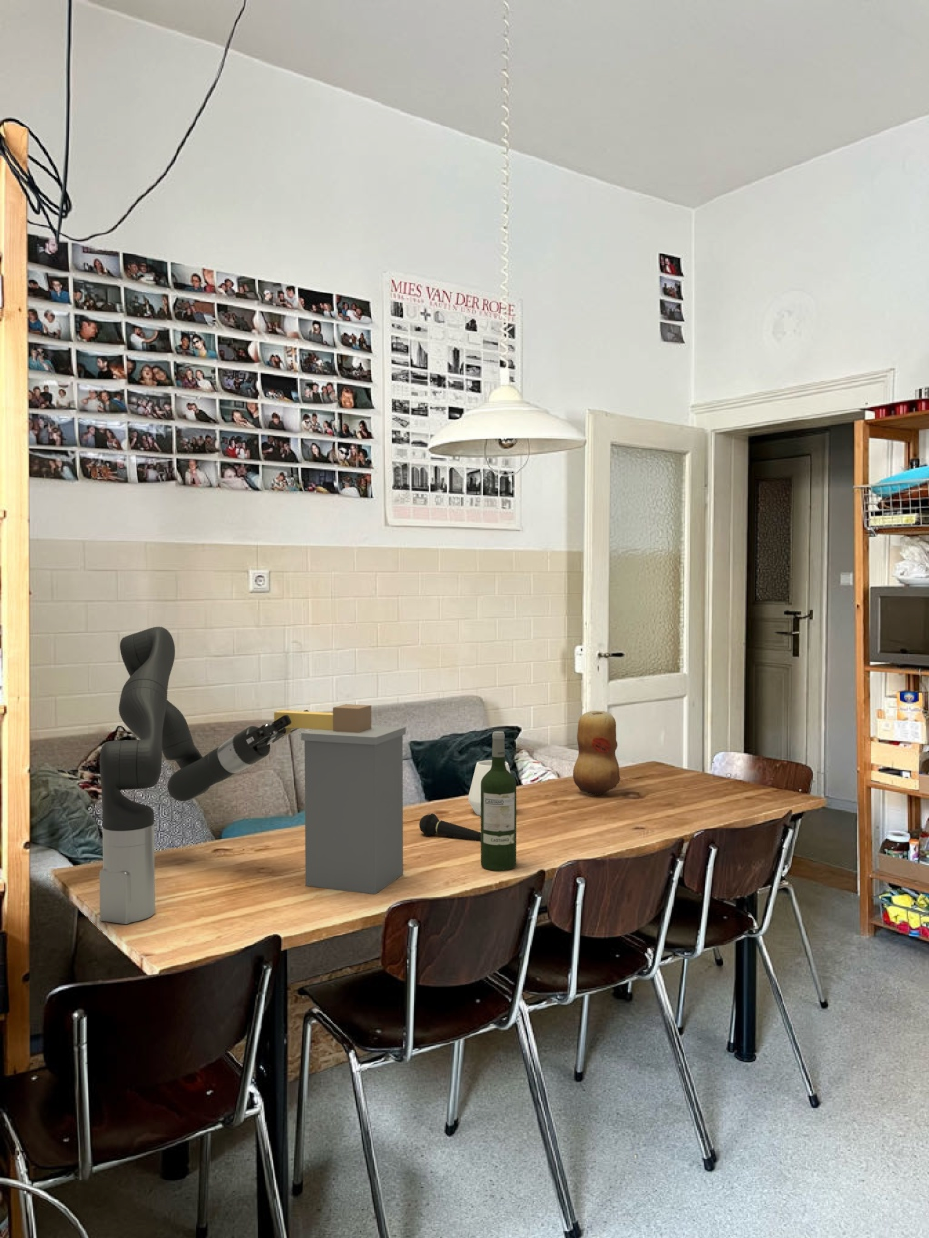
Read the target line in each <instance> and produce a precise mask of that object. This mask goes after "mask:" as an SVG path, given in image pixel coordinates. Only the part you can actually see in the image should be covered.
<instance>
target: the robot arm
mask: <svg viewBox="0 0 929 1238" xmlns="http://www.w3.org/2000/svg"><path fill="white" fill-rule="evenodd" d="M119 651H120V656H121V659H122V662H123V664H124V667H125V669H126V671H127V673H128V676H129V678H128V679H127V680H126V681H125V683H124V685H123V686H122V689H121V692H120V699H119V705H118V712H119V713H118V714H119V717H120V718H121V721H122V722H123V723H124V724H125V726H126V727H127V728H128V729H129V730H130V731H131V732H132V733H133V734H134V735H135V736H136V737H138V739H130V740H128V739H127V740H110V741H106V742H104V743H103V745H102V746H101V747H102V748H101V749H100V754H99V775H100V787H101V788H100V789H101V807H102V808H101V809H102V811H101V813H102V817H101V818H102V820H101V821H102V825H101V826H102V869H99V874H98V875H99V877H98V878H99V916H100V917H99V920H100V921H102V922H107V923H115V924H121V925H122V924H123V925H128V924H130V923H134V922H139V921H143V920H146V919H149V918H150V917H153V915H155V913H156V882H155V881H156V880H155V879H156V878H155V877H156V876H155V875H156V874H155V872H156V871H155V812H154V809H153V808H152V807H151V806H149V805H146V804H143V803H139V802H136V801H134V800H131V799H129V798H128V797H126V796H125V795H124V794H123V793H122V791H125V790H126V791H127V790H142V789H145V790H146V789H150V788H153V787H155V786H156V785H157V784H158V783H159V780H160V778H161V772H162V764H163V757H164V758H165V759H166V760H167V761H175V762H176V763H177V765H178V767H179V769H178V770H177V771H175V772H173V774H172V775H170V777H169V779H168V782H167V791H168V794H169V796H170V797H171V799H174V800H175V801H179V802H187V801H188V802H189V801H190V800H192V799H195V798H196V797H199V796H200V795H202V794H204V793H206V792H207V791H208V790H210V787H212V786H213V785H216V784H218V783H220V782H222V781H224V780H226V779H228V778H230V777H232V776H233V775H235V774H236V773H239V772H241V771H244V770H245V769H247V768H249V767H251V766H252V765H254V764H256V763H257V762H259V761H260V760H262V759H264V758H266V757H267V756H268V755H269V754H270V752H271V744H275V743H277V742H278V741H280V740H282V739H284V738H285V737H287V736H288V735H290V734H292V733H293V732H295V731H297V730H299V729H300V728H286V727H287V726H288V725H290V724H291V720H290V718H289V716H288V715H284V716H282V717H281V718H279V719H277V720H276V721H274V720H273V722H272V721H270V722H268V723H266V724H262V725H261V726H260V727H258V726H256V725H250V726H248V727H246V728H244V729H243V730H241V731H240V732H238V733H236V734H235V735H233V736H232V737H230V738H228V739H227V740H226V741H224V742H223V743H222V744H221V745H219V746H217V747H215V748H214V749H212V750H211V751H209V752H208V753H207V754H205V755H204V756H202V753H201V752H200V750H199V749H198V748H197V747H196V745H195V743H194V740H193V737H192V734H191V731H190V728H189V725H188V722H187V720H186V718H185V715H184V714H183V713H182V712H181V711H180V710H179V708H178V707H177V706H175V704H173V703H172V702H170V700H168V689H169V680H170V675H171V672H172V670H173V666H174V663H175V658H176V646H175V641H174V638H173V635H172V634H171V633H170V631H169V630H168V629H167V628H165V627H162V626H153V627H150V628H146V629H144V630H141V631H138V632H134V633H132V634H131V633H130V634H128V635H126V636H123V637H122V638H121V639H120V642H119ZM303 711H306V712H310V711H309V710H308V709H305V710H303ZM162 754H163V755H162Z"/></svg>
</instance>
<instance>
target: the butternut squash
mask: <svg viewBox="0 0 929 1238" xmlns="http://www.w3.org/2000/svg"><path fill="white" fill-rule="evenodd" d="M576 741H577V747H578V755H577V759H576V761H575V763H574V766H573V768H572V769H573V770H572V779H573V782H574V784H575V786H576V787H578V790H580V791H581V792H584V793H585V792H586V793H587V794H590V795H595V796H597V795H598V796H599V795H600V796H603V795H604V794H606V793H608V792H609V791H612V790H613V789H615V788H616V787H617V786H618V784H619V782H620V781H621V777H620V765H619V762H618V760H617V756H616V750H617V748H618V740H617V722H616V719H615V717H614V716H613V715H612V714H611V713H609V712H608V711H605V710H591V711H588V712H584V713H583V714H582V715H581V716H580V717H579V719H578V723H577V733H576Z"/></svg>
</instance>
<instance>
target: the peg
mask: <svg viewBox="0 0 929 1238" xmlns="http://www.w3.org/2000/svg"><path fill="white" fill-rule="evenodd" d="M284 715H288V716H289V718H290V720H291V724H290V725H288V726H287V727H286V728H299V729H304V730H305V729H306V730H307V729H308V730H314V729H322V730H333V731H337V732H355V733H359V732H363V731H366V730H369V729H371V725H372V705H369V704H347V703H346V704H341V705H338V706H337V705H336V706H332V712H325V711H309V712H306V711H304V710H303V711H302V710H283V709H282V710H278V711H274V712H273V722H274V721H276V720H277V719H279V718H281V717H282V716H284Z"/></svg>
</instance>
